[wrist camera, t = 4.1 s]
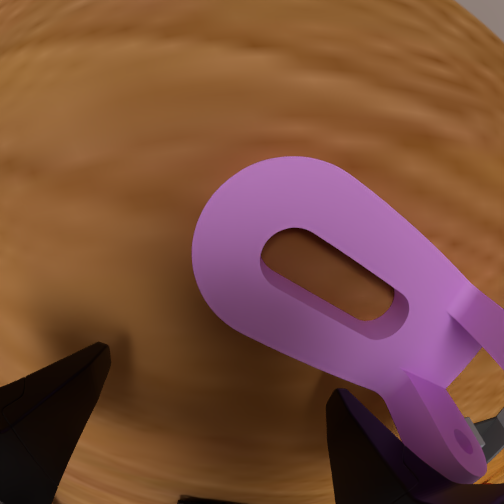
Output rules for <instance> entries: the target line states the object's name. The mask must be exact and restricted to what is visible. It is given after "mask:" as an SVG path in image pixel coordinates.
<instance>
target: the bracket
mask: <svg viewBox="0 0 504 504" xmlns="http://www.w3.org/2000/svg"><path fill="white" fill-rule="evenodd" d="M287 228H303V229H306V230H309V231H311V232H313V233H314V234H316V235H317V236H319V237H320V238H322V239H323V240H325V241H326V242H328V243H330V244H331V245H333V246H334V247H336V248H337V249H339V250H340V251H342V252H343V253H344V254H346V255H347V256H349V257H350V258H352V259H353V260H355V261H356V262H358V263H359V264H361V265H362V266H364V267H365V268H366V269H368V270H369V271H371V272H372V273H374V274H375V275H377V276H378V277H379V278H381V279H382V280H384V281H385V282H386V283H388V284H389V285H391V286H392V287H393V288H394V299H393V302H392V304H391V306H390V308H389V309H388V310H387V311H386V312H385V313H384V314H383V315H382V316H380V317H379V318H377V319H374V320H371V321H361V320H358V319H356V318H355V317H353V316H351V315H349V314H348V313H346V312H344V311H342V310H341V309H339V308H337V307H335V306H334V305H332V304H330V303H328V302H327V301H325V300H323V299H321V298H320V297H318V296H316V295H314V294H313V293H311V292H309V291H307V290H306V289H304V288H302V287H300V286H299V285H297V284H295V283H293V282H292V281H290V280H288V279H287V278H285V277H283V276H281V275H280V274H278V273H276V272H274V271H273V270H271V269H270V268H269V267H267V266H266V264H265V263H264V262H263V260H262V258H261V251H262V248H263V246H264V245H265V243H266V242H267V240H268V239H269V238H270V237H271V236H273V235H274V234H275V233H277V232H279V231H281V230H284V229H287ZM192 265H193V271H194V276H195V279H196V282H197V285H198V287H199V290H200V292H201V294H202V296H203V298H204V299H205V301H206V303H207V304H208V305H209V307H210V308H211V309H212V311H213V312H214V313H215V314H216V315H217V316H218V317H219V318H220V319H221V320H222V321H224V322H225V323H226V324H227V325H229V326H230V327H232V328H233V329H235V330H236V331H238V332H240V333H242V334H244V335H246V336H248V337H250V338H252V339H254V340H256V341H258V342H260V343H262V344H264V345H266V346H268V347H271V348H273V349H275V350H277V351H279V352H281V353H283V354H286V355H288V356H290V357H292V358H295V359H297V360H299V361H301V362H304V363H306V364H308V365H310V366H313V367H315V368H317V369H320V370H322V371H325V372H327V373H329V374H332V375H334V376H337V377H339V378H342V379H344V380H347V381H349V382H352V383H354V384H357V385H359V386H362V387H365V388H367V389H370V390H373V391H375V392H376V393H378V394H379V395H380V396H381V397H382V398H383V400H384V401H385V403H386V405H387V407H388V410H389V412H390V414H391V417H392V419H393V421H394V423H395V426H396V428H397V430H398V433H399V435H400V438H401V440H402V442H403V444H404V446H405V445H406V446H407V447H408V448H409V449H410V450H411V451H412V452H413V453H414V454H416V455H417V456H418V457H419V458H420V459H422V460H423V461H424V462H425V463H427V464H428V465H429V466H431V467H432V468H433V469H435V470H436V471H438V472H439V473H440V474H442V475H443V476H445V477H446V478H447V479H449V480H451V481H453V482H455V483H459V484H473V483H474V482H476V481H477V480H478V479H480V478H481V477H482V476H484V475H485V473H486V471H487V463H486V458H485V455H484V453H483V450H482V448H481V446H480V444H479V442H478V441H477V439H476V437H475V435H474V434H473V432H472V430H471V429H470V427H469V425H468V424H467V422H466V420H465V419H464V417H463V415H462V414H461V412H460V411H459V409H458V407H457V406H456V404H455V403H454V401H453V400H452V398H451V397H450V395H449V394H448V392H447V390H446V388H447V387H448V386H449V385H450V383H451V382H452V381H453V380H454V379H455V378H456V377H457V376H458V375H459V374H460V373H461V372H462V370H463V369H464V368H465V367H466V366H467V365H468V363H469V362H470V361H471V360H472V359H473V357H474V356H475V355H476V354H477V353H478V351H479V350H480V349H481V348H482V347H483V348H484V349H485V350H486V351H487V352H488V353H489V354H490V355H491V357H492V358H493V359H494V360H495V361H496V362H497V363H498V364H499V365H500V367H501V368H502V369H503V370H504V309H503V308H501V307H500V306H499V305H498V304H496V303H495V302H494V301H492V300H491V299H490V298H489V297H487V296H486V295H485V294H483V293H482V292H481V291H479V290H478V289H477V288H476V287H475V286H474V285H472V284H471V283H470V282H469V281H468V280H467V279H466V278H465V277H464V275H463V274H462V273H461V272H460V271H459V270H458V269H457V268H456V267H455V266H454V265H453V264H452V263H451V262H450V261H449V260H448V259H447V258H446V257H445V256H444V255H443V254H442V253H441V252H440V251H439V250H438V249H437V248H436V247H435V246H434V245H433V244H432V243H431V242H430V241H429V240H428V239H427V238H426V237H425V236H423V235H422V234H421V233H420V232H419V231H418V230H417V229H416V228H415V227H414V226H413V225H411V224H410V223H409V222H408V221H407V220H406V219H405V218H403V217H402V216H401V215H400V214H399V213H398V212H397V211H395V210H394V209H393V208H392V207H391V206H389V205H388V204H387V203H386V202H385V201H383V200H382V199H381V198H380V197H379V196H377V195H376V194H375V193H374V192H372V191H371V190H370V189H368V188H367V187H366V186H365V185H363V184H362V183H361V182H359V181H358V180H357V179H356V178H354V177H353V176H352V175H350V174H349V173H347V172H346V171H344V170H342V169H341V168H339V167H337V166H335V165H333V164H330V163H327V162H325V161H322V160H318V159H313V158H308V157H299V156H291V157H278V158H271V159H267V160H263V161H260V162H257V163H255V164H252V165H250V166H248V167H246V168H244V169H242V170H241V171H239V172H238V173H236V174H235V175H233V176H232V177H231V178H230V179H228V180H227V181H226V182H225V183H224V184H222V185H221V186H220V188H219V189H218V190H217V191H216V192H215V193H214V194H213V195H212V197H211V198H210V200H209V201H208V202H207V204H206V206H205V207H204V209H203V211H202V213H201V215H200V217H199V220H198V222H197V225H196V229H195V232H194V237H193V243H192Z"/></svg>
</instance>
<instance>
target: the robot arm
mask: <svg viewBox="0 0 504 504" xmlns="http://www.w3.org/2000/svg"><path fill="white" fill-rule="evenodd" d="M110 366H111V358H110V349H109V346H108V345H107V344H104V343H101V342H97V343H94V344H92V345H90V346H88V347H86V348H84V349H82V350H80V351H78V352H76V353H74V354H72V355H70V356H67V357H65V358H63V359H61V360H59V361H57V362H55V363H53V364H51V365H49V366H47V367H44V368H42V369H40V370H38V371H36V372H34V373H32V374H30V375H28V376H26V378H25V377H23V378H21V379H19V380H17V381H14V382H12V383H10V384H7V385H5V386H2V387H0V504H51V503H52V501H53V498H54V496H55V493H56V491H57V488H58V487H57V486H58V485H59V483H60V481H61V478H62V476H63V474H64V471H65V469H66V467H67V464H68V462H69V460H70V457H71V455H72V453H73V451H74V449H75V446H76V444H77V442H78V440H79V438H80V436H81V434H82V432H83V429H84V427H85V425H86V423H87V421H88V419H89V417H90V415H91V413H92V411H93V409H94V407H95V405H96V403H97V401H98V398H99V396H100V393H101V390H102V388H103V385H104V382H105V379H106V377H107V374H108V372H109V369H110ZM326 422H327V444H328V451H329V458H330V465H331V472H332V479H333V487H334V495H335V503H336V504H504V483H502V484H459V483H455V482H453V481H451V480H449V479H447V478H446V477H445V476H443V475H442V474H440V473H439V472H438V471H436V470H435V469H433V468H432V467H431V466H429V465H428V464H427V463H425V462H424V461H423V460H422V459H420V458H419V457H418V456H417V455H416V454H414V453H413V452H412V451H411V450H410V449H409V448H408V447H407V446H406V445H405V446H404V444H403V443H402V442H401V441H400V440H399V439H398V438H397V437H396V436H395V435H394V434H393V433H392V432H391V431H390V430H389V429H387V428H386V427H385V426H384V425H383V424H382V423H381V422H380V421H379V420H378V419H377V418H376V417H375V416H374V415H373V414H372V413H371V412H370V411H369V410H368V409H367V408H366V407H365V406H364V405H363V404H361V403H360V402H359V401H358V400H357V399H356V398H355V397H354V396H353V395H352V394H351V393H350V392H349V391H348V390H347V389H342V388H337V389H335V390H334V391H333V393H332V395H331V397H330V398H329V400H328V402H327V404H326ZM177 504H200V503H195V502H189V501H184V500H178V502H177Z"/></svg>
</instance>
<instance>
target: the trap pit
mask: <svg viewBox="0 0 504 504" xmlns="http://www.w3.org/2000/svg"><path fill="white" fill-rule="evenodd" d="M474 426H475V427H476V429H477V431H478V432H479V434H480V436H481V437H482V439H483V441H484V442H485V445H484V446H483V447H482V450H483V453H484V455H485V458H486V463H487V464H488V463H489V462H490V461H491V460H492V459H493V458H494V457H495V456H496V455H497V454H498V453H499V452H500V451H501V450H502V449H503V448H504V427H503V426H502V424H501V423H500V421H499V420H498V418H497V417H494V418H491V419H488V420H485V421H482V422H478V423H475V424H474Z"/></svg>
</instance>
